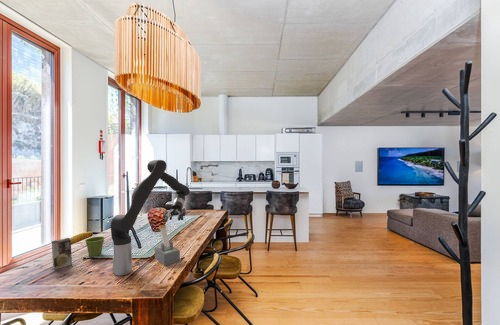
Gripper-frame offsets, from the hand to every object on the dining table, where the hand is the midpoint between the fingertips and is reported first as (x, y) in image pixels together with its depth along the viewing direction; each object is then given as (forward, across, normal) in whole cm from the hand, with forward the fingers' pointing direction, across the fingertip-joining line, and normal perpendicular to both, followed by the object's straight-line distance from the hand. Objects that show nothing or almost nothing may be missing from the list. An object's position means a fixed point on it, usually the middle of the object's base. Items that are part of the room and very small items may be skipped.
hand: (172, 220), depth 163 cm
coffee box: (+15, -70, +13) cm, 72 cm away
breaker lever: (+8, -5, +15) cm, 18 cm away
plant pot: (+1, -60, +22) cm, 63 cm away
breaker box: (+11, -6, +22) cm, 26 cm away
